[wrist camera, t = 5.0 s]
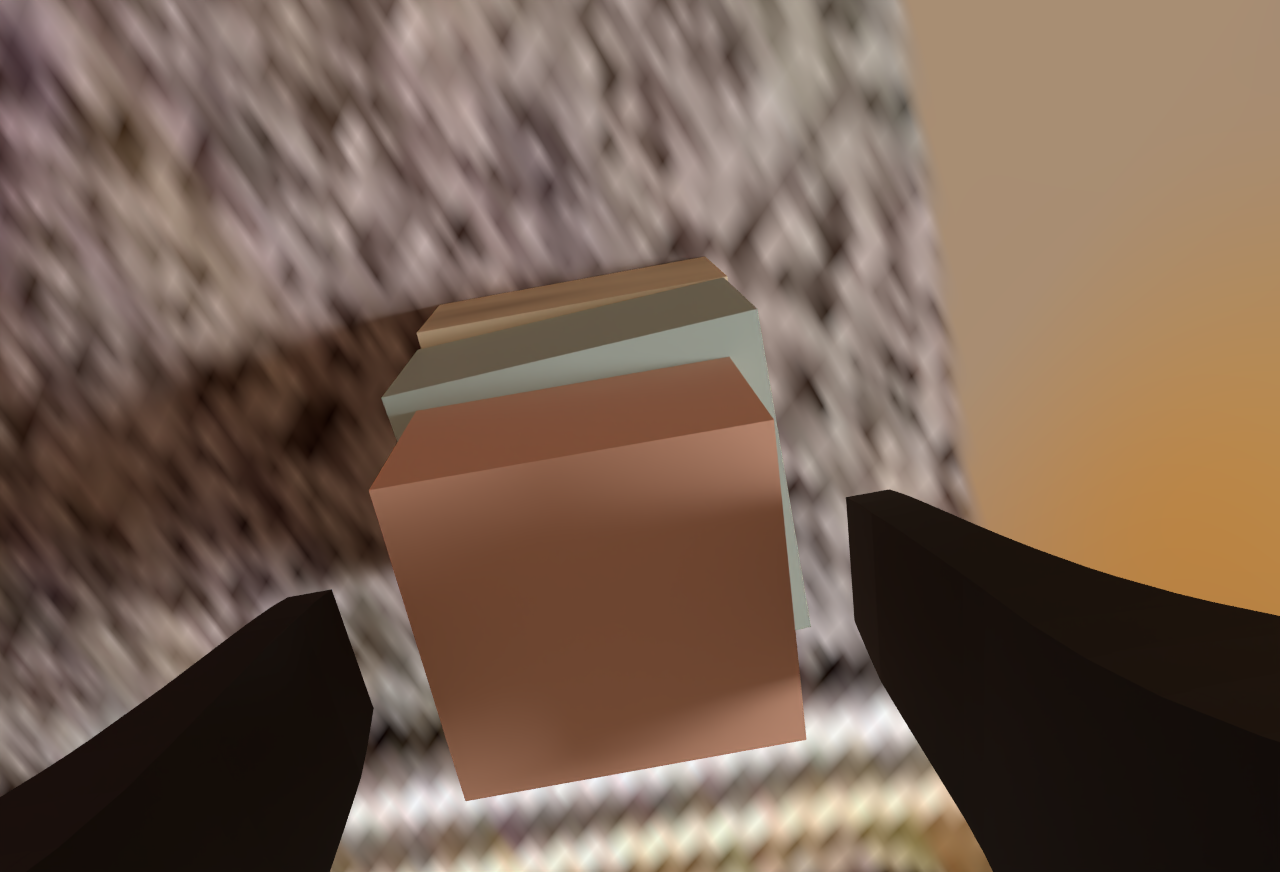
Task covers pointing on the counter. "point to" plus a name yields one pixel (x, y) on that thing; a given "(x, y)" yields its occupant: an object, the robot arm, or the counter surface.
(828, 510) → the counter surface
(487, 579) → the terracotta block
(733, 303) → the middle block
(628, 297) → the base block
